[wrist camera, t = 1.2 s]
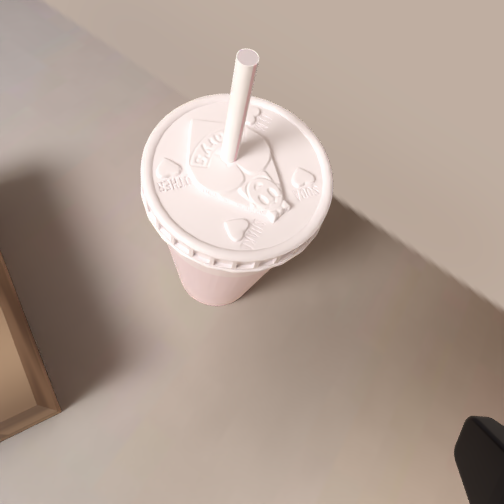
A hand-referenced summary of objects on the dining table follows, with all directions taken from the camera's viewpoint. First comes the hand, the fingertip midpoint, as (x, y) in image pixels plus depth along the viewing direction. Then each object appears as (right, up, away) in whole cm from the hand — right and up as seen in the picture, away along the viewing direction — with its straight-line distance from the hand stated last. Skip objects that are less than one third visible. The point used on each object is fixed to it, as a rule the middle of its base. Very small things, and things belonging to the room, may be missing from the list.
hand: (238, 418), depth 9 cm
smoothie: (-2, +2, +15) cm, 16 cm away
